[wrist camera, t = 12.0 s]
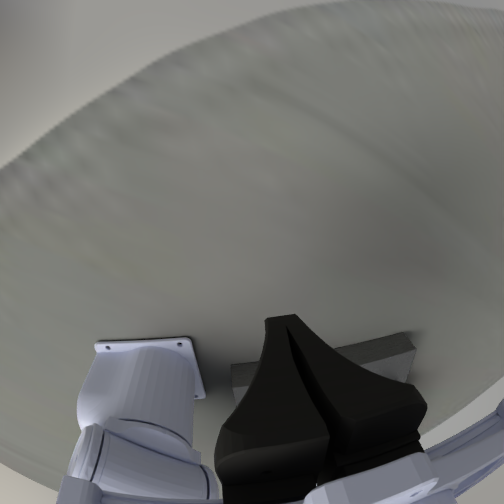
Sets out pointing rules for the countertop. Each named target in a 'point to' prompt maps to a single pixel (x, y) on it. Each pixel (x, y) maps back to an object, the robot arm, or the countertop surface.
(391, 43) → the countertop surface
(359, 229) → the countertop surface
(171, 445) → the robot arm
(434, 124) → the countertop surface
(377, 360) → the plate
